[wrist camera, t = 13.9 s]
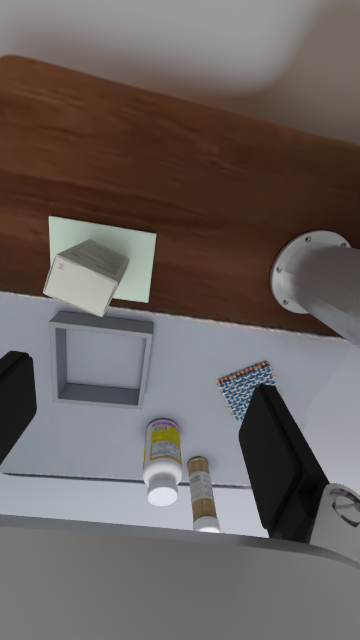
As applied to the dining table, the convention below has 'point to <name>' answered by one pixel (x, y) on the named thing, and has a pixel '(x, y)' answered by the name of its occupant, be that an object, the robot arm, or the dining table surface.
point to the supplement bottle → (162, 462)
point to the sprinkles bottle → (202, 496)
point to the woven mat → (244, 387)
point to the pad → (117, 239)
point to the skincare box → (86, 276)
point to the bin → (89, 393)
